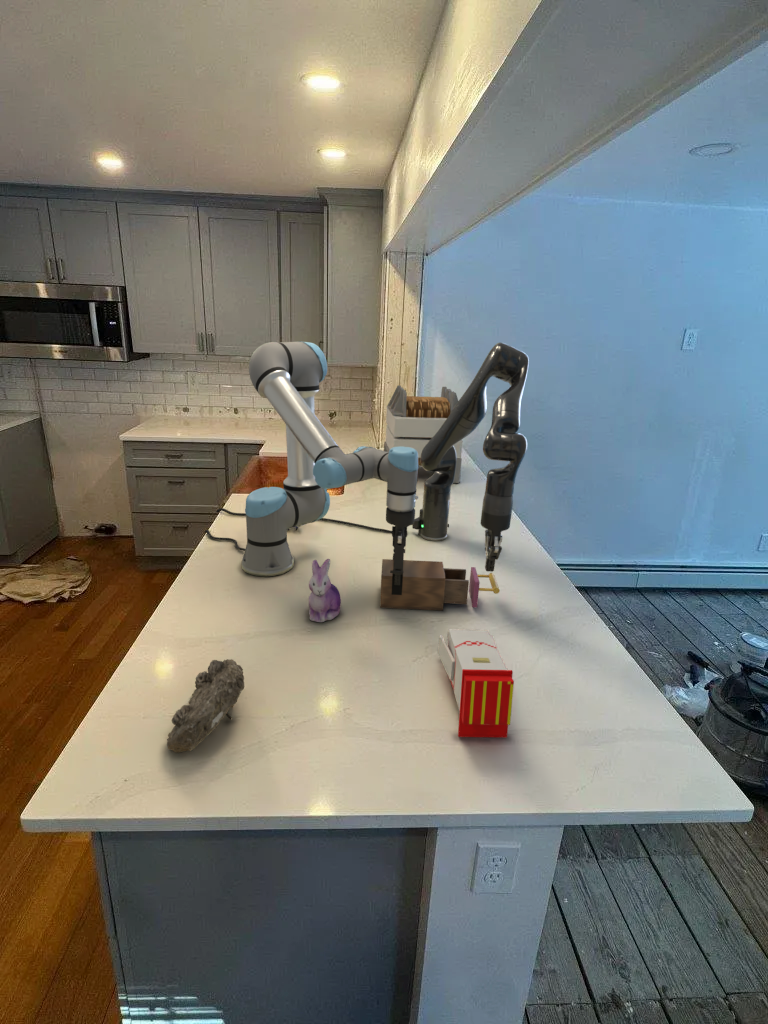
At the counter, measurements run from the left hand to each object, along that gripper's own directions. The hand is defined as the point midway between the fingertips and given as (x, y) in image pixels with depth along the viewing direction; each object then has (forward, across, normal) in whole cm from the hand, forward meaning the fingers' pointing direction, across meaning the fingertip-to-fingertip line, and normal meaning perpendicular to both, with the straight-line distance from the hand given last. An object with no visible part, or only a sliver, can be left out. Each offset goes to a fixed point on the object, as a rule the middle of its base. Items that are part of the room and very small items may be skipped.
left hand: (396, 584), depth 154 cm
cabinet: (+4, 0, -4) cm, 6 cm away
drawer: (+3, 0, -17) cm, 17 cm away
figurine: (+4, -10, +18) cm, 21 cm away
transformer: (+5, +128, -10) cm, 128 cm away
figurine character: (+4, +50, +37) cm, 62 cm away
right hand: (-6, 0, -24) cm, 25 cm away
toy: (+5, -39, -16) cm, 42 cm away
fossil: (+4, -50, +35) cm, 61 cm away
